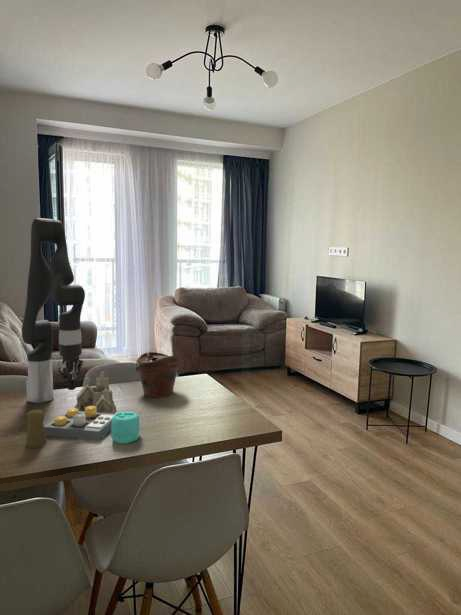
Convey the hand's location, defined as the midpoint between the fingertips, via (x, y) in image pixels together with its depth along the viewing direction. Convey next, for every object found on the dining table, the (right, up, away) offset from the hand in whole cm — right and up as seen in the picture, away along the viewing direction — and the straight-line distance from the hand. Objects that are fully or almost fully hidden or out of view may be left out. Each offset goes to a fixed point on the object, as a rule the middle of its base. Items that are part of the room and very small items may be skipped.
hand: (71, 389), depth 160 cm
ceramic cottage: (+4, -11, +14) cm, 18 cm away
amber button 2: (0, -11, +1) cm, 11 cm away
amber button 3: (+7, -9, 0) cm, 12 cm away
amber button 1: (-1, -12, -6) cm, 13 cm away
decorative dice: (+22, -15, -11) cm, 29 cm away
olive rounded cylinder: (-6, -15, -16) cm, 23 cm away
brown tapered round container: (+25, -8, +38) cm, 46 cm away
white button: (+5, -10, -8) cm, 14 cm away
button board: (+5, -13, -3) cm, 15 cm away
